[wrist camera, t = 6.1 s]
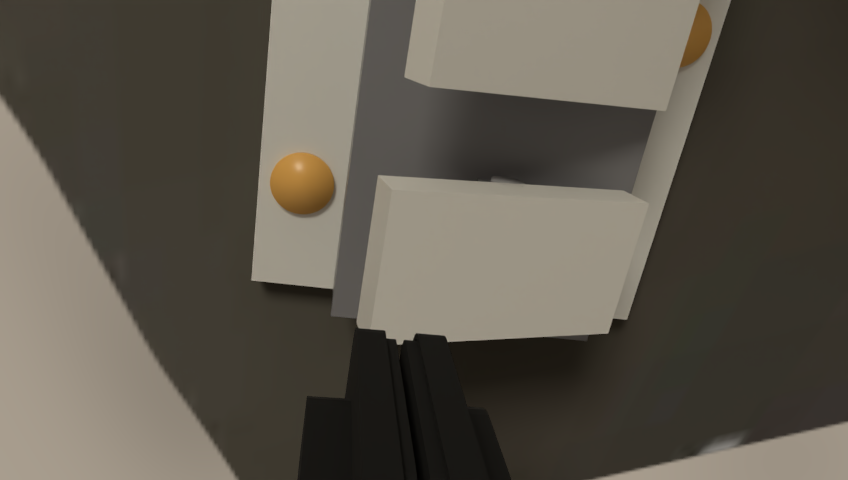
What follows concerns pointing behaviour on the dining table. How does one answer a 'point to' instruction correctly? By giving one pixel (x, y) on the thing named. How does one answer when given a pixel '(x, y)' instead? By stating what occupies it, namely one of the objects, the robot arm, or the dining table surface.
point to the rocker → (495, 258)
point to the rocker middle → (553, 48)
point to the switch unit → (431, 139)
